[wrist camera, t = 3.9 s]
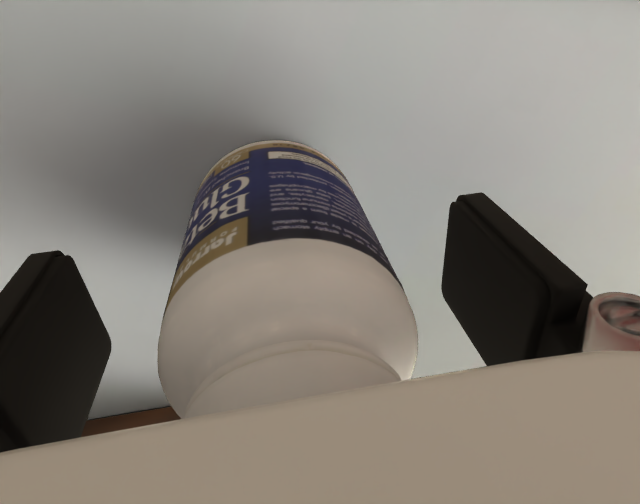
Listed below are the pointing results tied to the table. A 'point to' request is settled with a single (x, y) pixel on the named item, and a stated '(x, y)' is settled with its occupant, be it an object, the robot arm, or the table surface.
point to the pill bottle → (280, 289)
